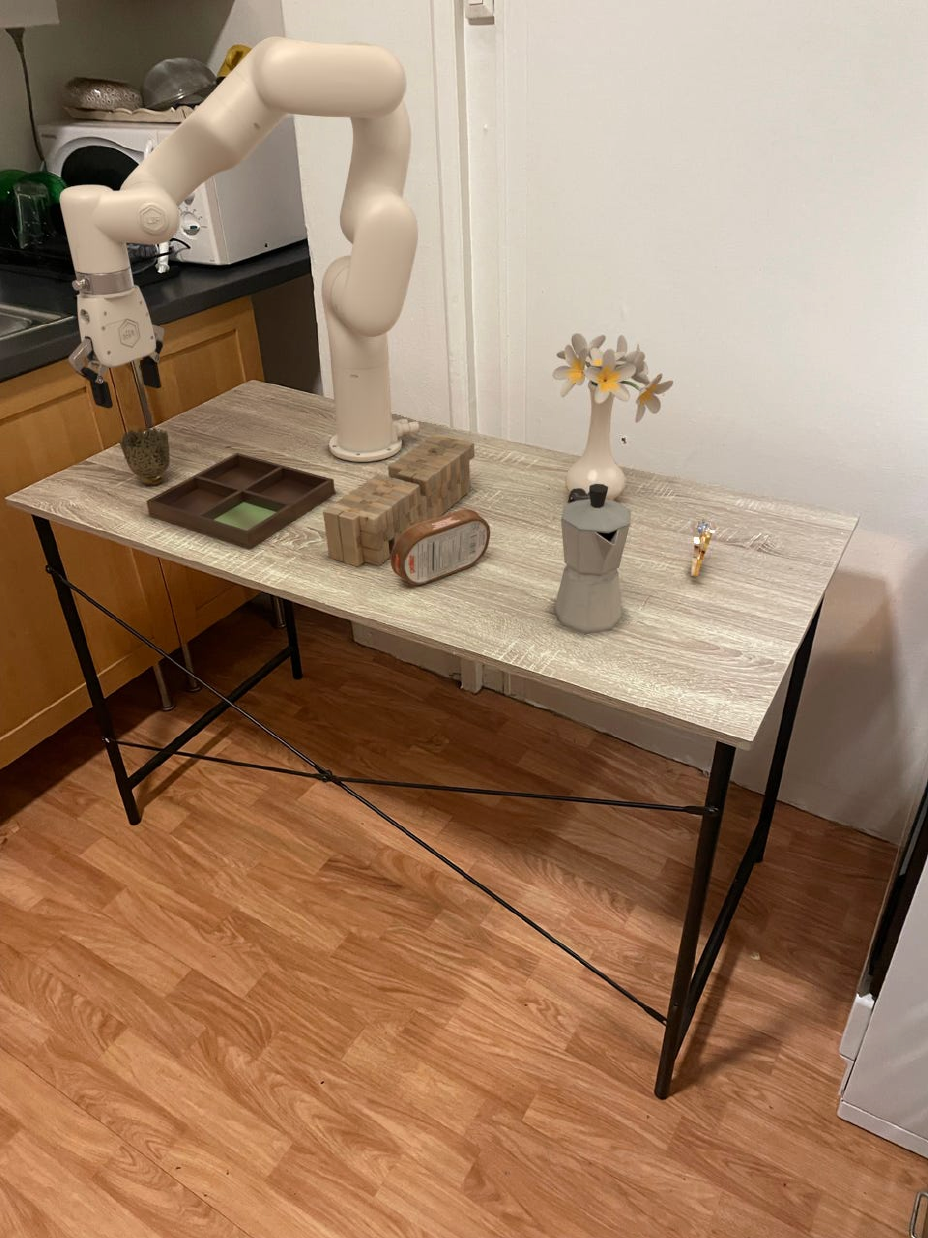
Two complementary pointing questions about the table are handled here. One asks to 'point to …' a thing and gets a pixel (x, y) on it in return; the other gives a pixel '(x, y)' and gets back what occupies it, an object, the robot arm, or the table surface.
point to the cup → (147, 454)
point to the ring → (700, 543)
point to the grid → (241, 499)
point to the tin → (440, 546)
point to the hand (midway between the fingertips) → (129, 396)
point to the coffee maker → (591, 560)
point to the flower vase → (605, 404)
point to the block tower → (398, 500)
